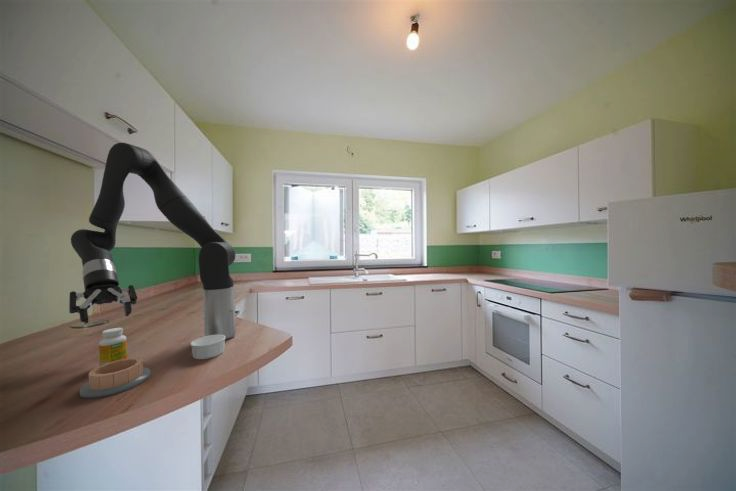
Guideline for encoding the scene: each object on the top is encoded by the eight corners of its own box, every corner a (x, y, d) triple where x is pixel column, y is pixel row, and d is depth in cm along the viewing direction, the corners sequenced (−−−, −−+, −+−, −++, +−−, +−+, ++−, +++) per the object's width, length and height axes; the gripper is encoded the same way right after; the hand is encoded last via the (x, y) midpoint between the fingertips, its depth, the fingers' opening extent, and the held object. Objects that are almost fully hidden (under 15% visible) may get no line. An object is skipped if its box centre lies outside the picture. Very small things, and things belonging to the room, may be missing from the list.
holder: (158, 367, 69) (157, 352, 69) (138, 390, 58) (137, 372, 58) (99, 377, 65) (98, 361, 65) (65, 404, 54) (64, 384, 54)
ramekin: (198, 363, 71) (197, 347, 71) (186, 356, 76) (185, 341, 76) (231, 352, 78) (230, 337, 78) (218, 345, 83) (217, 332, 83)
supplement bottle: (111, 370, 68) (109, 333, 68) (94, 369, 69) (92, 333, 69) (132, 361, 74) (131, 326, 73) (116, 360, 74) (115, 326, 74)
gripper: (66, 270, 75) (71, 316, 68) (131, 266, 87) (141, 305, 80) (66, 287, 79) (70, 332, 72) (129, 281, 90) (138, 319, 83)
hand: (108, 318), depth 76 cm, fingers open, 8 cm apart
